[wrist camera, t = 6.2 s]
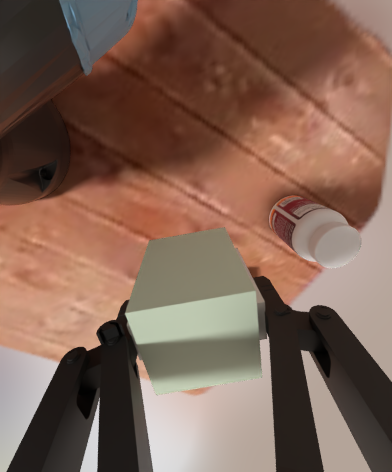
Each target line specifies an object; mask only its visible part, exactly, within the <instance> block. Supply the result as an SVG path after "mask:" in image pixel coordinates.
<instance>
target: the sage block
mask: <svg viewBox="0 0 392 472" xmlns="http://www.w3.org/2000/svg"><path fill="white" fill-rule="evenodd" d="M125 315H126V317H127V320H128V323H129V325H130V328H131V330H132V333H133V336H134V338H135V341H136V344H137V346H138V349H139V351H140V354H141V357H142V359H143V362H144V365H145V367H146V370H147V372H148V375H149V378H150V380H151V383H152V385H153V388H154V391H155V393H156V395H160V394H167V393H173V392H179V391H185V390H191V389H197V388H203V387H209V386H215V385H221V384H227V383H233V382H239V381H245V380H251V379H257V378H262V369H261V355H260V341H259V328H258V314H257V300H256V290H255V288H254V286H253V284H252V282H251V280H250V278H249V276H248V274H247V272H246V270H245V268H244V266H243V264H242V261H241V259H240V257H239V255H238V253H237V251H236V249H235V247H234V245H233V243H232V241H231V239H230V237H229V235H228V233H227V231H226V229H225V227H223V228H218V229H212V230H206V231H201V232H195V233H189V234H184V235H178V236H172V237H167V238H161V239H155V240H150V241H149V243H148V246H147V249H146V252H145V255H144V258H143V261H142V264H141V267H140V270H139V273H138V276H137V279H136V282H135V285H134V288H133V291H132V294H131V297H130V300H129V303H128V306H127V309H126V312H125Z"/></svg>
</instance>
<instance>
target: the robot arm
mask: <svg viewBox="0 0 392 472" xmlns="http://www.w3.org/2000/svg"><path fill="white" fill-rule="evenodd" d="M137 1H138V0H0V205H19V204H25V203H29V202H32V201H35V200H37V199H40V198H42V197H45V196H47V195H48V194H50V193H51V192H53V191H54V190H55V189H56V188H57V187H58V186H59V185H60V184H61V182H62V181H63V179H64V177H65V175H66V173H67V170H68V167H69V162H70V142H69V137H68V133H67V130H66V127H65V124H64V122H63V119H62V117H61V115H60V114H59V112H58V110H57V108H56V107H55V105H54V104H53V102H52V101H51V99H52V98H53V97H55V96H56V95H57V94H58V93H60V92H61V91H62V90H64V89H65V88H66V87H67V86H69V85H70V84H71V83H73V82H74V81H75V80H76V79H78V78H79V77H80V76H81V75H83V74H85V75H86V76H87V75H89V74H90V73H91V71H92V65H93V64H94V63H95V62H96V61H97V60H99V59H100V58H101V57H102V56H103V55H104V54H105V53H106V52H107V51H108V50H110V49H111V48H112V47H113V46H114V45H115V44H116V43H117V42H118V41H120V40H121V39H122V38H123V37H124V36H125V35H126V34H127V33H128V31H129V30H130V29H131V27H132V25H133V22H134V20H135V16H136V11H137ZM235 249H236V251H237V253H238V255H239V257H240V259H241V261H242V264H243V266H244V268H245V270H246V272H247V274H248V276H249V278H250V280H251V282H252V284H253V286H254V288H255V290H256V300H257V314H258V328H259V340H262V339H267V334H268V337H269V343H270V360H271V361H270V362H271V379H272V380H271V381H272V399H273V418H274V436H275V455H276V472H324V470H323V465H322V459H321V454H320V449H319V443H318V438H317V433H316V428H315V423H314V417H313V412H312V407H311V402H310V397H309V391H308V386H307V381H306V376H305V370H304V365H303V360H302V355H301V350H304V351H309V352H310V354H311V356H312V358H313V360H314V362H315V363H316V366H317V368H318V369H319V372H320V373H321V375H322V377H323V379H324V381H325V383H326V385H327V387H328V389H329V391H330V393H331V395H332V396H333V398H334V400H335V402H336V404H337V406H338V408H339V410H340V412H341V414H342V416H343V417H344V420H345V421H346V423H347V425H348V427H349V429H350V431H351V433H352V435H353V437H354V439H355V441H356V443H357V444H358V446H359V448H360V450H361V452H362V454H363V456H364V458H365V460H366V461H367V464H368V466H369V468H370V470H371V471H372V472H392V382H391V381H390V379H389V378H388V377H387V375H386V374H385V373H384V372H383V371H382V369H381V368H380V367H379V365H378V364H377V363H376V362H375V360H374V359H373V358H372V357H371V355H370V354H369V353H368V352H367V350H366V349H365V348H364V347H363V345H362V344H361V343H360V342H359V340H358V339H357V338H356V337H355V335H354V334H353V333H352V331H351V330H350V329H349V328H348V327H347V325H346V324H345V323H344V321H343V320H342V319H341V318H340V316H339V315H338V314H337V313H336V312H335V311H334V310H333V309H331V308H329V307H327V306H322V305H317V306H313V307H312V308H311V309H310V311H309V312H300V311H295V310H292V308H291V307H290V306H288V305H286V304H284V302H283V301H282V299H281V298H280V296H279V294H278V293H277V291H276V290H275V288H274V287H273V286H272V283H271V282H270V280H269V279H267V278H266V277H264V276H260V277H255V278H252V276H251V274H250V272H249V270H248V268H247V266H246V264H245V262H244V260H243V258H242V256H241V254H240V252H239V251H238V249H237V248H235ZM128 303H129V300H126V301H125V302H124V303H123V305H122V306H121V308H120V311H119V314H118V317H117V319H116V320H111V321H108V322H106V323H104V324H103V325H102V326H100V328H99V329H98V330H97V333H96V334H97V336H98V339H99V341H100V343H101V345H100V346H98V347H96V348H93V349H91V350H89V351H87V350H86V348H84V347H77V348H74V349H72V350H71V351H69V352H68V353H67V354H65V355H64V357H63V358H62V360H61V361H60V363H59V365H58V368H57V370H56V372H55V374H54V376H53V378H52V380H51V382H50V384H49V386H48V388H47V390H46V392H45V394H44V396H43V398H42V401H41V402H40V404H39V407H38V408H37V411H36V412H35V414H34V417H33V419H32V421H31V423H30V425H29V427H28V429H27V431H26V433H25V435H24V437H23V439H22V441H21V443H20V445H19V447H18V449H17V451H16V453H15V456H14V458H13V460H12V461H11V464H10V466H9V468H8V470H7V472H80V469H81V465H82V461H83V457H84V454H85V450H86V446H87V442H88V438H89V435H90V431H91V427H92V423H93V420H94V416H95V412H96V409H97V405H98V401H99V397H100V406H99V437H98V469H97V472H153V468H152V461H151V453H150V446H149V439H148V433H147V426H146V419H145V412H144V405H143V399H142V391H141V385H140V377H139V370H138V365H137V363H136V359H137V354H138V357H139V359H140V360H143V359H142V357H141V354H140V351H139V349H138V346H137V344H136V341H135V338H134V336H133V333H132V330H131V328H130V325H129V323H128V320H127V317H126V315H125V312H126V309H127V306H128Z"/></svg>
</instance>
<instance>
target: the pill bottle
mask: <svg viewBox="0 0 392 472" xmlns="http://www.w3.org/2000/svg"><path fill="white" fill-rule="evenodd" d="M269 224H270V227H271V229H272V230H273V231H274V233H275V234H276V235H278V236H279V237H280V238H281V239H282V240H283V241H284V242H285V243H286V244H287V245H288V246H290V247H291V248H292V249H293V250H294V251H295V252H296V253H297V254H298V255H299V256H301V257H302V258H304V259H306V260H308V261H313V262H318V263H319V264H320V265H321V266H323V267H326V268H338V267H342V266H344V265H346V264H348V263H349V262H350V261H351V260H353V259H354V258H355V257H356V255H357V254H358V252H359V250H360V247H361V236H360V234H359V232H358V231H357V230H356V229H355V228H353V227H351V226H349V225H348V223H347V221H346V219H345V218H344V217H343V216H342V215H341V214H340V213H338V212H336V211H334V210H332V209H329V208H327V207H325V206H322V205H320V204H318V203H315V202H313V201H310V200H308V199H306V198H303V197H301V196H287V197H285V198H282V199H281V200H279V201H278V202H277V203H276V204H275V205H274V206H273V208H272V210H271V212H270V216H269Z"/></svg>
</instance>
